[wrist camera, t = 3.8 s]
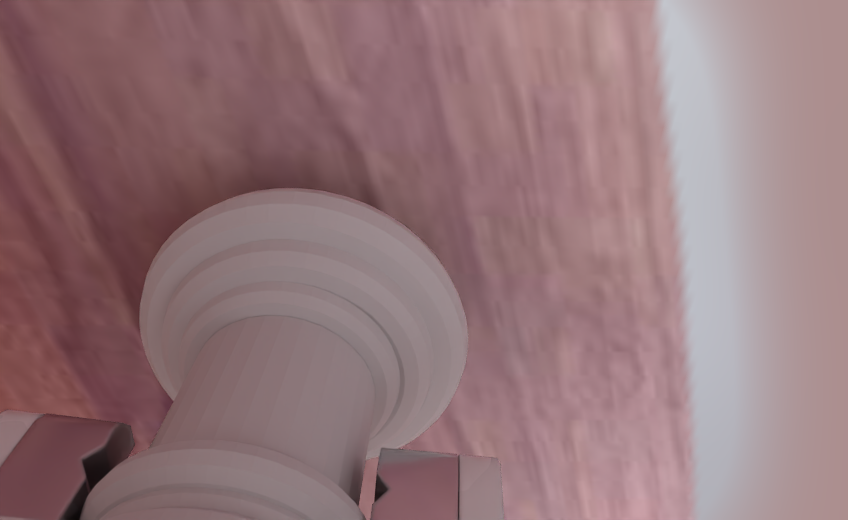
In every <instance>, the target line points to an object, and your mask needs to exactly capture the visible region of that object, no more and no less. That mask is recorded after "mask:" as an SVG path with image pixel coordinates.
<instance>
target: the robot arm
mask: <svg viewBox="0 0 848 520" xmlns="http://www.w3.org/2000/svg"><path fill="white" fill-rule="evenodd" d="M134 446H135V443H134V439H133V434H132V430H131V426H130V425H127V424H124V423H120V422H111V421H103V420H95V419H87V418H79V417H71V416H63V415H55V414H41V413H33V412H25V411H17V410H8V409H7V410H5V411H3V412H1V413H0V520H80V516H81V511H82V508H83V505H84V503H85V501H86V498H87V497H88V495H89V494H90V492H91V491H92V489H93V488H94V487H95V485H96V484H98V483H99V482H100V481H101V480H102V479H103V478H104V477H105V476H106V475H107V474H108V473H109V472H110V471H111V470H112V469H113V468H114V467H115V466H117V465H118V464H120V463H121V462H123V461H124V460H126V459H127V458H128V457H129V455H130V453H131V451H132V449H133V447H134ZM370 520H504V508H503V492H502V476H501V464H500V462H499V460H498V458H494V457H482V456H471V455H460V454H459V456H458V455H457V454H450V453H439V452H427V451H416V450H404V449H393V448H382V447H381V450H380V455H379V461H378V468H377V476H376V488H375V501H374V503H373V504H372V511H371V518H370Z"/></svg>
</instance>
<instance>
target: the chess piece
mask: <svg viewBox="0 0 848 520" xmlns="http://www.w3.org/2000/svg"><path fill="white" fill-rule="evenodd" d="M139 325H140V333H141V340H142V344H143V347H144V351H145V354H146V357H147V359H148V362H149V364H150V366H151V368H152V371H153V373H154V374H155V376H156V378H157V379H158V381H159V382H160V384H161V386H162V387H163V389H164V390H165V391H166V392H167V394H168V395H169V396H170V397H171V399H172V400H173V401H174V402H173V404H172V406H171V407H170V409H169V411H168V413H167V415H166V417H165V419H164V421H163V423H162V425H161V426H160V428H159V430H158V432H157V434H156V436H155V438H154V440H153V442H152V444H151V445H150V447H149V449H147V450H143V451H141V452H139V453H137V454H135V455H133V456H131V457H129V458H127V459H126V460H124V461H123V462H121V463H120V464H118V465H117V466H115V467H114V468H113V469H112V470H111V471H110V472H109V473H108V474H107V475H106V476H105V477H104V478H103V479H102V480H101V481H100V482H99V483H98V484H96V485H95V487H94V488H93V489H92V491H91V492H90V494H89V495H88V497H87V498H86V501H85V503H84V505H83V508H82V511H81V516H80V520H366V518H365V516H364V515H363V513H362V512H361V510H360V509H359V508H358V505H359V499H360V493H361V487H362V480H363V474H364V468H365V462H366V460H369V459H372V458H376V457H379V455H380V450H381V447H382V448H393V449H399V448H400V447H402V446H404V445H406V444H408V443H409V442H411V441H413V440H414V439H415V438H417V437H418V436H420V435H421V434H422V433H424V432H425V431H426V430H427V429H428V428H429V427H430V426H431V425H432V424H433V423H434V422H435V421H436V420H437V419H438V418H439V417H440V416H441V414H442V413H443V412H444V410H445V409H446V408H447V406H448V405H449V403H450V401H451V399H452V397H453V395H454V394H455V392H456V389H457V387H458V385H459V383H460V380H461V377H462V374H463V371H464V368H465V364H466V359H467V353H468V328H467V322H466V316H465V312H464V309H463V306H462V303H461V300H460V296H459V294H458V292H457V290H456V288H455V286H454V284H453V282H452V280H451V278H450V276H449V275H448V273H447V271H446V269H445V268H444V267H443V265H442V264H441V262H440V261H439V259H438V258H437V256H436V255H435V254H434V253H433V252H432V251H431V250H430V248H429V247H428V246H427V245H426V244H425V243H424V242H423V241H422V240H421V239H420V238H419V237H418V236H417V235H415V234H414V233H413V232H412V231H411V230H410V229H408V228H407V227H406V226H405V225H403V224H402V223H400V222H399V221H397V220H396V219H394V218H393V217H391V216H389V215H388V214H386V213H384V212H382V211H380V210H378V209H376V208H374V207H372V206H370V205H368V204H366V203H363V202H361V201H358V200H355V199H352V198H350V197H347V196H343V195H339V194H335V193H331V192H326V191H322V190H313V189H304V188H274V189H266V190H259V191H253V192H249V193H246V194H242V195H238V196H234V197H232V198H230V199H227V200H225V201H222V202H220V203H217V204H215V205H213V206H211V207H209V208H207V209H205V210H203V211H202V212H200V213H198V214H197V215H195V216H193V217H192V218H190V219H189V220H187V221H186V222H185V223H184V224H183V225H181V226H180V227H179V228H178V229H177V230H175V231H174V232H173V233H172V235H171V236H170V237H169V238H168V239H167V240H166V241H165V243H164V244H163V245H162V246H161V248H160V249H159V251H158V253H157V254H156V256H155V258H154V259H153V261H152V263H151V266H150V268H149V271H148V273H147V276H146V279H145V283H144V288H143V293H142V298H141V303H140V316H139Z"/></svg>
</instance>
